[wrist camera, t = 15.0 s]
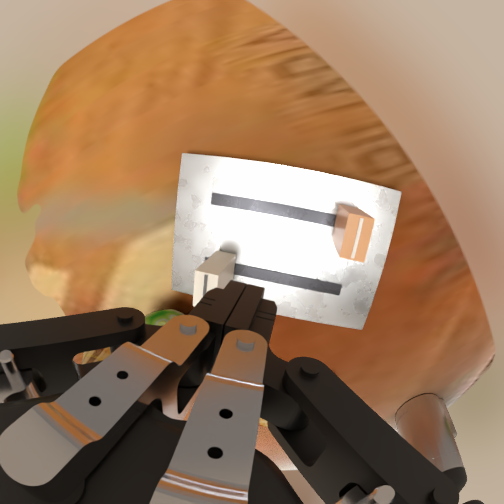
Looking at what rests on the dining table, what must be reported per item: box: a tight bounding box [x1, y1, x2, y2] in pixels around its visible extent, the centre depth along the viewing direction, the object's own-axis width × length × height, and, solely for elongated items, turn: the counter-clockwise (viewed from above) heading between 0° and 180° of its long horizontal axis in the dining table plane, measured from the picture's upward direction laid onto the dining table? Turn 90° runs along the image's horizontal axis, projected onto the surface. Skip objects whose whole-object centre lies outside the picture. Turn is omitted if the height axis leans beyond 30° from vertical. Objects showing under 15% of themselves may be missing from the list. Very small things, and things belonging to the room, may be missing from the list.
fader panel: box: [172, 153, 401, 330], centre depth 32 cm, size 26×18×2 cm
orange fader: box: [332, 204, 375, 263], centre depth 26 cm, size 2×4×7 cm, turn 172°
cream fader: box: [193, 251, 236, 307], centre depth 30 cm, size 2×4×7 cm, turn 171°
